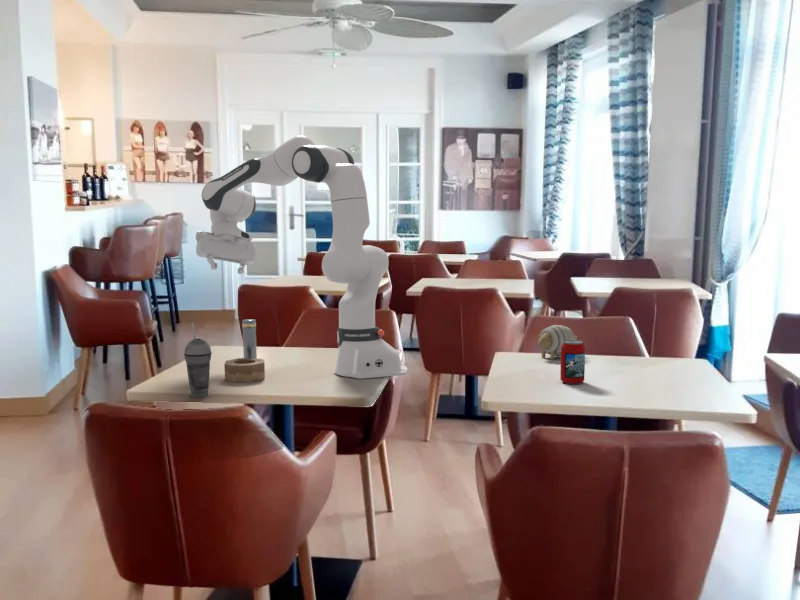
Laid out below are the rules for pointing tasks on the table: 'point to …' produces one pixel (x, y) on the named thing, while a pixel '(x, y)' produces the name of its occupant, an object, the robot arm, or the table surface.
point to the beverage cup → (198, 365)
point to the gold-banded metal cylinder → (249, 338)
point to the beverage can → (572, 362)
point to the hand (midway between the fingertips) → (227, 271)
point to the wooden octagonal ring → (244, 370)
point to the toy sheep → (554, 339)
